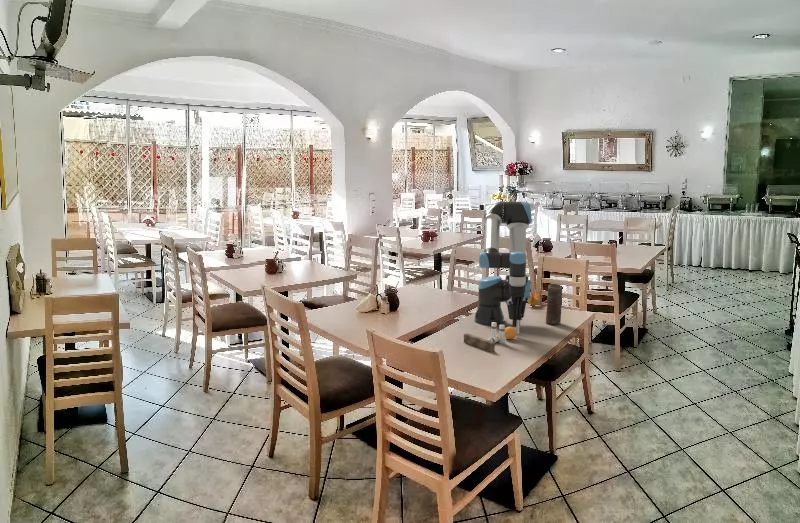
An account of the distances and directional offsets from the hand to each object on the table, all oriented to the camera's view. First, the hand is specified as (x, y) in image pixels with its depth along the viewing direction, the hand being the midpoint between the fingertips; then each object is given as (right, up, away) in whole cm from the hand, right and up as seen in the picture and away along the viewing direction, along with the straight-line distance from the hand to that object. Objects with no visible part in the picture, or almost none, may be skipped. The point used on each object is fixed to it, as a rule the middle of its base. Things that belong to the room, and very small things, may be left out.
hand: (516, 333), depth 283 cm
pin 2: (-8, -4, -9) cm, 13 cm away
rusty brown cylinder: (+24, +2, +22) cm, 33 cm away
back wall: (-20, -4, -14) cm, 24 cm away
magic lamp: (+22, +8, +58) cm, 63 cm away
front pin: (-8, -2, -6) cm, 10 cm away
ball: (-4, +1, -3) cm, 5 cm away
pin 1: (-11, -3, -5) cm, 13 cm away
